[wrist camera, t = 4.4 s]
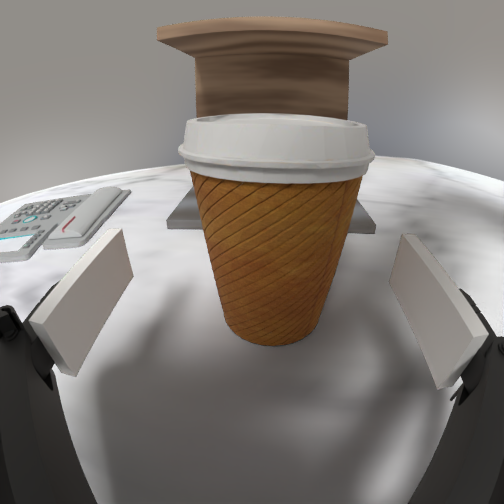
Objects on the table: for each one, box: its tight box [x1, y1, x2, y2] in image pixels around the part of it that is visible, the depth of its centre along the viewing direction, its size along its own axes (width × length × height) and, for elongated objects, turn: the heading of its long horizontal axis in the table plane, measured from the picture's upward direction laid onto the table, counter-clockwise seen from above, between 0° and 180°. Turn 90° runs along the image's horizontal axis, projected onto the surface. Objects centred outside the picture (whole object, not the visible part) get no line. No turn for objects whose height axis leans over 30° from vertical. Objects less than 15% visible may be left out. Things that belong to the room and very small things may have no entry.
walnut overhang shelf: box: [157, 17, 388, 234], centre depth 31 cm, size 18×22×22 cm
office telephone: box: [0, 187, 131, 263], centre depth 32 cm, size 23×3×20 cm
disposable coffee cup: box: [178, 113, 375, 346], centre depth 16 cm, size 10×10×12 cm
